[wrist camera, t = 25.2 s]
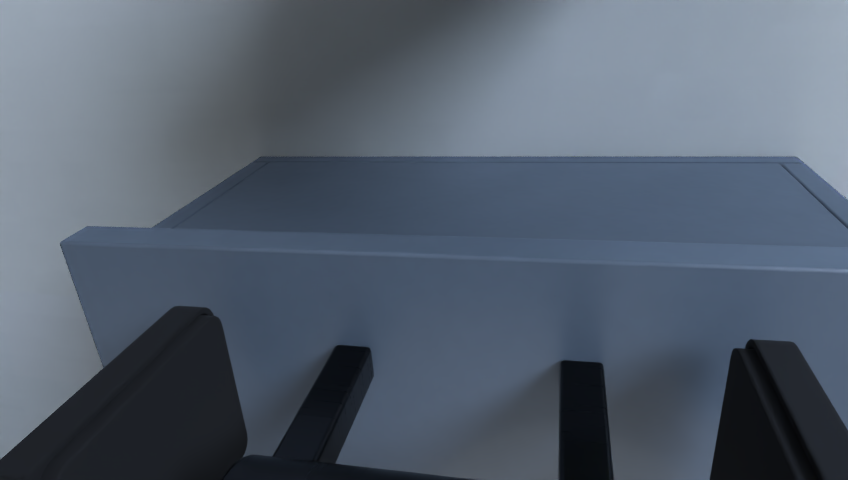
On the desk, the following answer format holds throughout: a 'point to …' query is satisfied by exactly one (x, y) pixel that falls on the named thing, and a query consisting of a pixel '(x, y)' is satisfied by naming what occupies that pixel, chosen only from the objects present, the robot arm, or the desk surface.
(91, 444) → the robot arm
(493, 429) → the lid
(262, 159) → the open hinged box
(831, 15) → the desk surface
